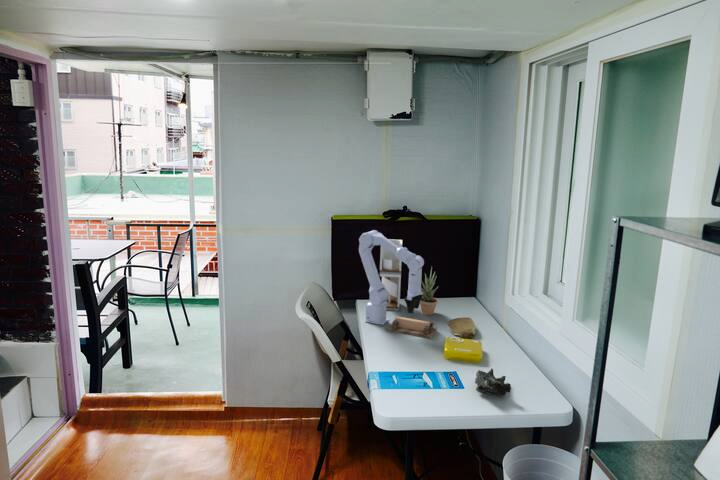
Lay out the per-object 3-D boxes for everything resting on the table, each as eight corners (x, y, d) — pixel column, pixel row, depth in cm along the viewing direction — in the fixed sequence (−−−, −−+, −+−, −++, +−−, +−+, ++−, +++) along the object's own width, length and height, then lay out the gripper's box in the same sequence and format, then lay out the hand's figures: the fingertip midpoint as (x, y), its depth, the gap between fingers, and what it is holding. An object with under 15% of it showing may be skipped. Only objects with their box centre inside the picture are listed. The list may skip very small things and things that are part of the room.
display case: (379, 302, 268) (382, 238, 261) (399, 303, 267) (402, 239, 260) (378, 309, 257) (380, 243, 250) (399, 310, 256) (402, 244, 249)
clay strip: (395, 326, 231) (395, 317, 230) (397, 324, 233) (397, 316, 232) (428, 332, 225) (428, 323, 224) (430, 330, 227) (430, 322, 226)
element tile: (443, 360, 200) (444, 349, 199) (445, 345, 214) (445, 335, 213) (481, 364, 197) (482, 353, 196) (480, 349, 211) (481, 339, 210)
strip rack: (388, 330, 228) (388, 321, 228) (395, 323, 237) (396, 315, 237) (430, 338, 221) (431, 329, 220) (436, 330, 230) (437, 322, 229)
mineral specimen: (522, 387, 167) (506, 361, 168) (491, 408, 166) (475, 381, 167) (506, 381, 182) (492, 357, 183) (478, 400, 180) (463, 376, 181)
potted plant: (438, 316, 249) (441, 268, 244) (419, 316, 249) (422, 268, 244) (435, 309, 258) (438, 263, 254) (417, 309, 258) (419, 263, 254)
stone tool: (481, 341, 218) (471, 321, 242) (480, 332, 217) (470, 313, 241) (454, 343, 218) (447, 323, 243) (453, 334, 218) (446, 315, 242)
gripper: (418, 287, 219) (416, 316, 222) (427, 279, 232) (426, 307, 235) (403, 285, 222) (401, 314, 225) (413, 277, 235) (412, 305, 238)
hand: (413, 310), depth 230 cm, fingers open, 7 cm apart
